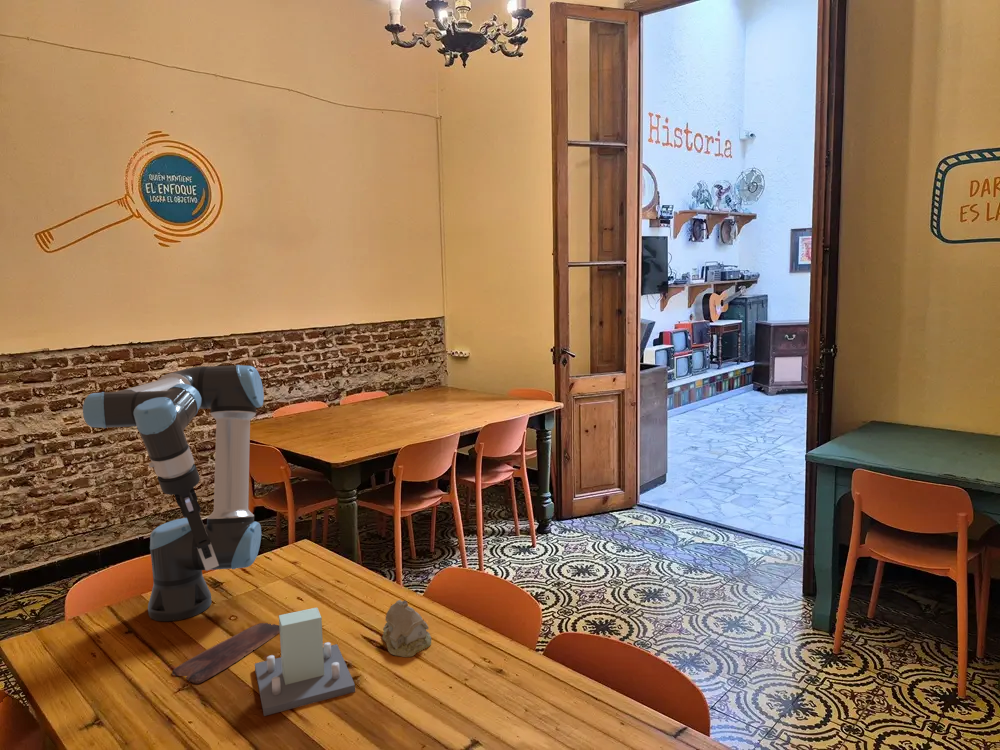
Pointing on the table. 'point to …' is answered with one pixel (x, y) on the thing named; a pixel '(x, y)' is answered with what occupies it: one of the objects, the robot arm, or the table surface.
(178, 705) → the table surface
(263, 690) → the peg plinth
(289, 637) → the mint board
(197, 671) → the wooden tablet
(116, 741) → the table surface
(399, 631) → the ceramic model
